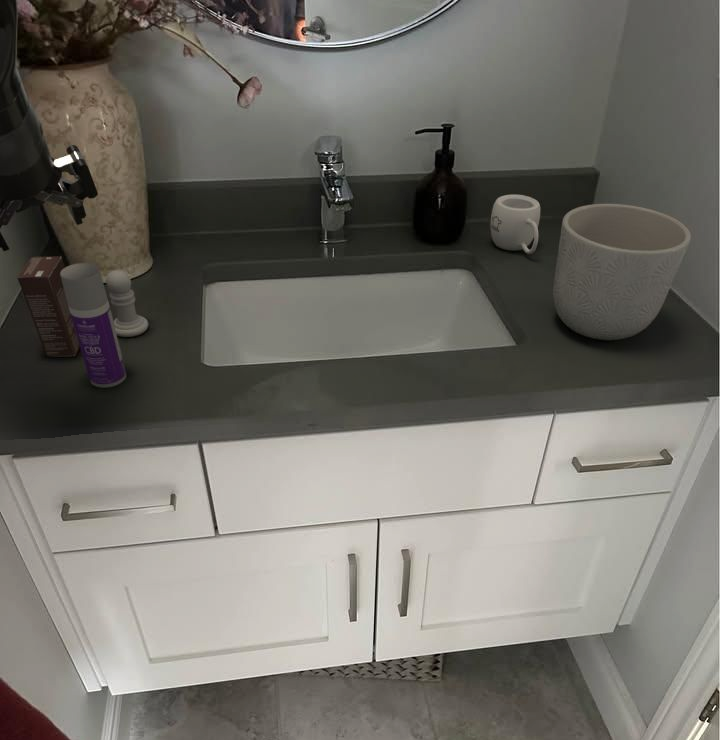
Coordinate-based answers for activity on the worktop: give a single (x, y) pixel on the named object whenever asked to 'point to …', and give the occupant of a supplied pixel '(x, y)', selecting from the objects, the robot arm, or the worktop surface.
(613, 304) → the planter
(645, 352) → the worktop surface
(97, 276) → the container
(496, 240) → the mug
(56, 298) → the box
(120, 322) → the chess piece
